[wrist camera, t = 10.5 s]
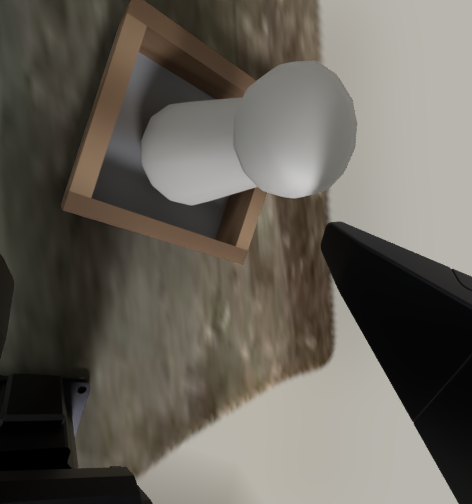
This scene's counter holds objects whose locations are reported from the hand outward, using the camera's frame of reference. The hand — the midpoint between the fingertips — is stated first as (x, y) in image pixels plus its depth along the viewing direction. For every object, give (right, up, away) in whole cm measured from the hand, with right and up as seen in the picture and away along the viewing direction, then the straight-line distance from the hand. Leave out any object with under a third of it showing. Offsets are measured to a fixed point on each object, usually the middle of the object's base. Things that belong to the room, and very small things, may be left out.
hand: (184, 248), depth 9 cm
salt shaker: (-2, +6, +12) cm, 13 cm away
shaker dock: (-3, +6, +12) cm, 14 cm away
